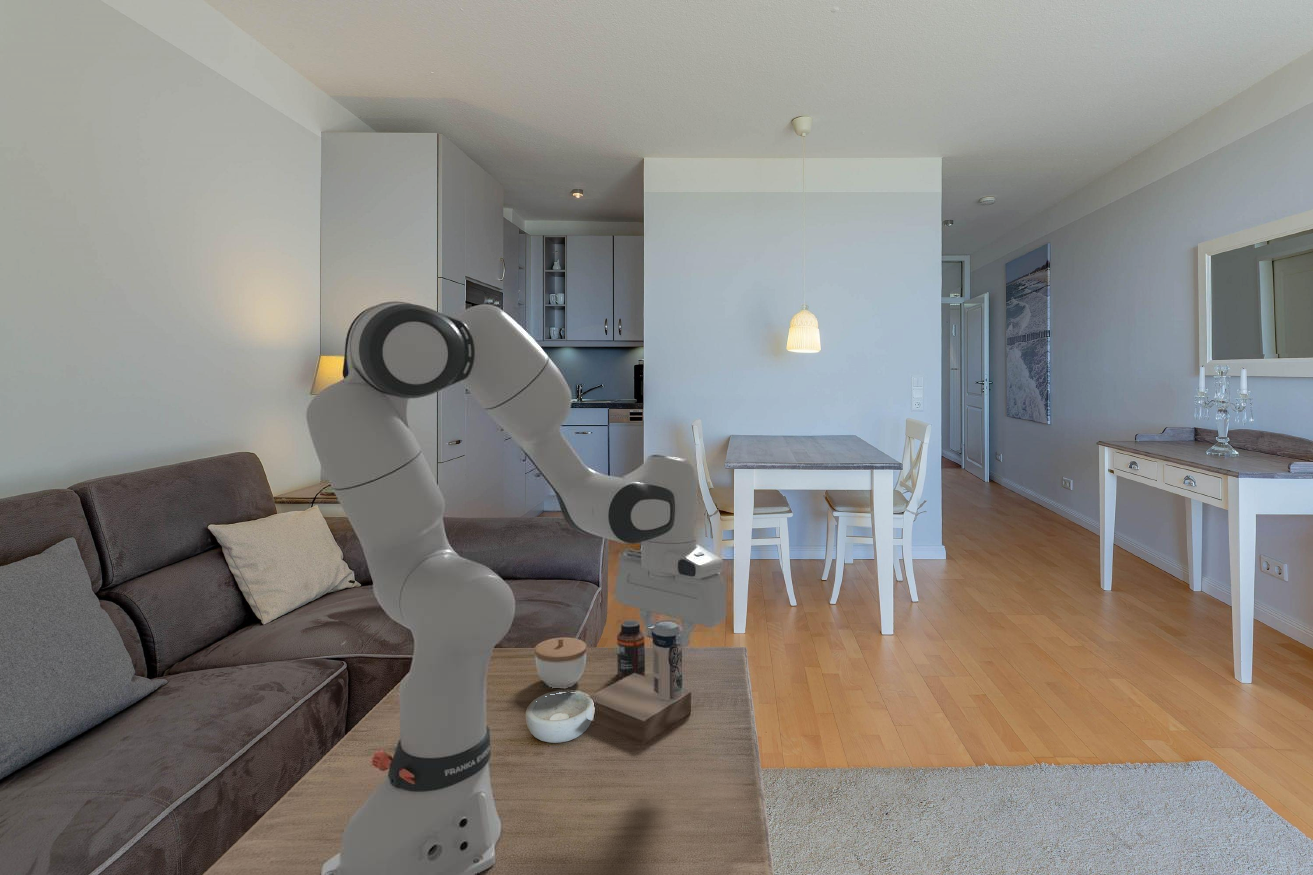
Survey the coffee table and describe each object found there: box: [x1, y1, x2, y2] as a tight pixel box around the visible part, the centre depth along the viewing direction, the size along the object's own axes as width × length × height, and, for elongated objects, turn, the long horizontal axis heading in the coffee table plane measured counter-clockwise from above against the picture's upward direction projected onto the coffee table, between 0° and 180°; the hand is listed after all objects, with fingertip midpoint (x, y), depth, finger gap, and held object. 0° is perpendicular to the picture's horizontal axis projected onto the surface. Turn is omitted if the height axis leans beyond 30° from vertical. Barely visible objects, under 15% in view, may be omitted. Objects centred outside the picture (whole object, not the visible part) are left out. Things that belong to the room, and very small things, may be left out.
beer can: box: [652, 619, 683, 702], centre depth 106 cm, size 5×5×12 cm
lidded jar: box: [534, 637, 588, 690], centre depth 137 cm, size 11×11×9 cm
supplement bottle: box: [616, 619, 646, 679], centre depth 140 cm, size 6×6×11 cm
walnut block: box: [588, 673, 692, 744], centre depth 122 cm, size 14×14×4 cm
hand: (666, 641), depth 105 cm, fingers closed on beer can, 5 cm apart
